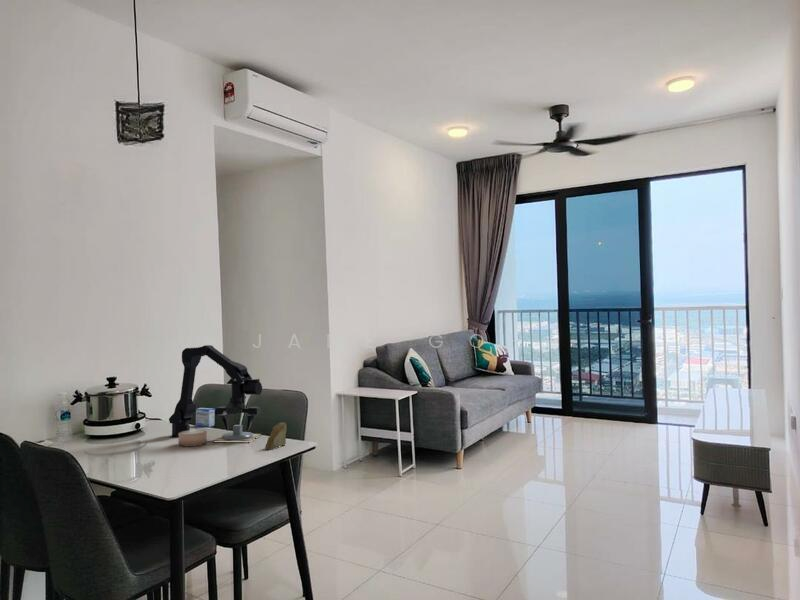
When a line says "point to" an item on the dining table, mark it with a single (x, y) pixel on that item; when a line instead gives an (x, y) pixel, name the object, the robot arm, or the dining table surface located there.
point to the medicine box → (205, 417)
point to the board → (237, 440)
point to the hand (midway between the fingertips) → (237, 430)
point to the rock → (277, 436)
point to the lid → (237, 434)
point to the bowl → (192, 437)
